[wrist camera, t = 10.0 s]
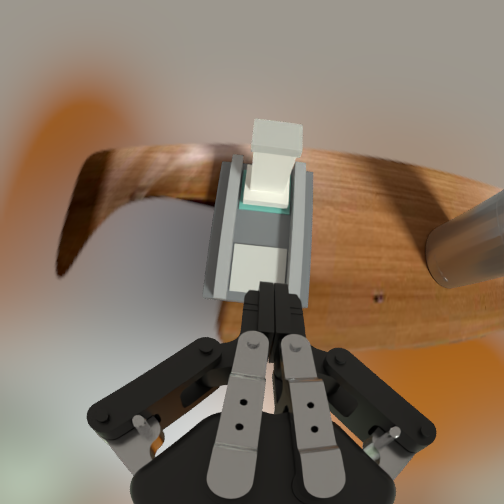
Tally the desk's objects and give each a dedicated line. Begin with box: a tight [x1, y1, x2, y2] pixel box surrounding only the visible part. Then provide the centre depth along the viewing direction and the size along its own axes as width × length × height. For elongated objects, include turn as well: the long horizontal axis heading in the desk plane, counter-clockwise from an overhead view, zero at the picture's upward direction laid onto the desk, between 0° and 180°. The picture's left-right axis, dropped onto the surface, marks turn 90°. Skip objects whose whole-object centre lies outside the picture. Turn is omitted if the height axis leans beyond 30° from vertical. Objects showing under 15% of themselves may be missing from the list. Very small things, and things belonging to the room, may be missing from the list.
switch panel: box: [203, 154, 313, 308], centre depth 30 cm, size 16×11×4 cm
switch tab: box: [243, 119, 302, 209], centre depth 26 cm, size 4×5×10 cm
